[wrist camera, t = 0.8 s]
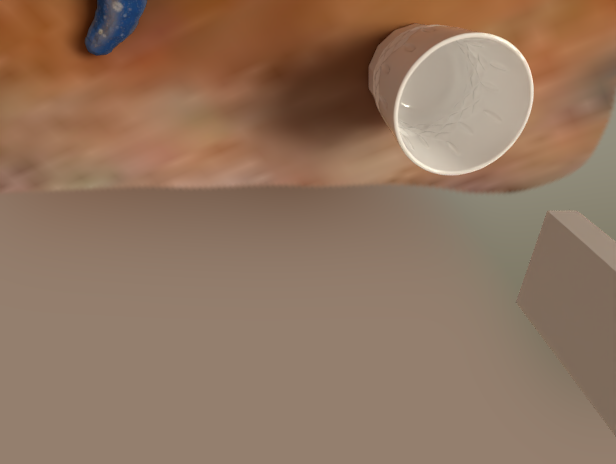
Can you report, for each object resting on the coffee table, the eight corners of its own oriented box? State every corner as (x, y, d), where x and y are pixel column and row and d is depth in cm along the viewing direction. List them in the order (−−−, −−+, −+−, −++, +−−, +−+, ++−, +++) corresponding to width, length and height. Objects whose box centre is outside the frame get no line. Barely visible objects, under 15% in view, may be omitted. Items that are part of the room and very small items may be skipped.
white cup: (425, -13, 33) (487, -3, 24) (485, 75, 36) (558, 111, 27) (337, 70, 35) (364, 106, 26) (401, 145, 38) (445, 200, 29)
